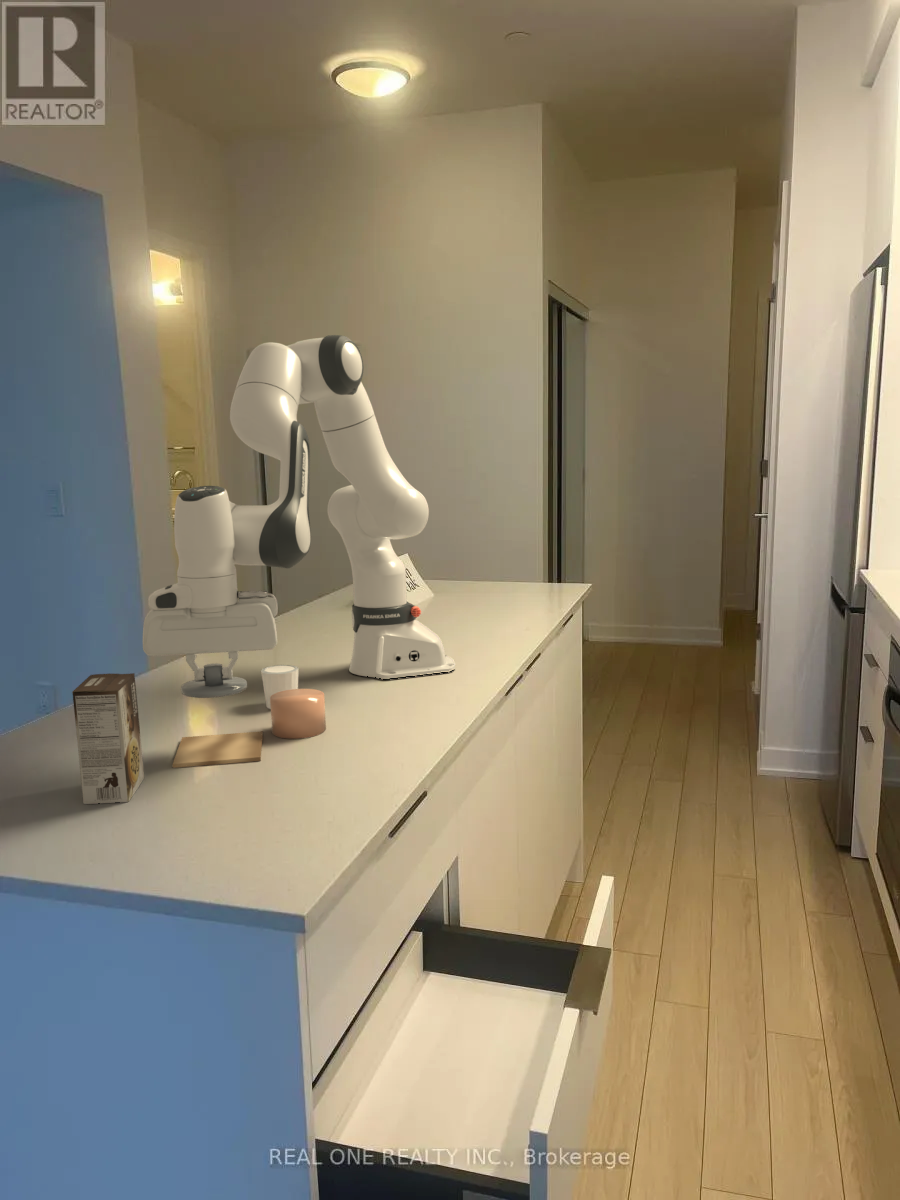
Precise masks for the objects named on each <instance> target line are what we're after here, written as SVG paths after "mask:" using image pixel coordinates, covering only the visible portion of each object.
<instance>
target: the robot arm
mask: <svg viewBox="0 0 900 1200" xmlns="http://www.w3.org/2000/svg"><path fill="white" fill-rule="evenodd" d="M363 376H364V359H363V356H362V354H361V352H360V349H359V348H358V346H357V344H355V342H354V341H352V340H351V339H350V338H349V336H346V335H341V334H339V335H338V334H330V335H325V336H324V337H317V338H314V337H313V338H309V339H304V340H298V341H296V342H294V343H292V344H288V345H285V344H283V343H279V342H272V341H270V342H263V343H260V344H258V345H257V346H256V347H255V348H254V349H252V350H251V352H250V354H249V355H248V357H247V359H246V361H245V364H244V365H243V368H242V369H241V372H240V375H239V378H238V380H237V383H236V386H235V388H234V393H233V396H232V400H231V405H230V408H229V410H230V412H229V421H230V425H231V428H232V430H233V431H234V433H235V435H236V436H237V438H238V439H239V440H241V442H243V444H245V445H246V446H248V447H249V448H250V449H252V450H254V451H256V452H258V453H259V454H263V455H265V456H269V457H271V458H274V459H275V460H278V461H280V469H279V471H280V473H279V488H278V489H279V491H278V499H277V500H275V501H274V502H273V503H269V504H267V505H265V504H264V505H263V504H261V505H260V504H259V505H254V504H252V505H251V504H249V505H247V504H246V505H242V504H237V503H234V502H232V501H231V500H230V498H229V493H228V491H227V489H226V488H224V487H222V486H218V485H201V486H195V487H190V488H188V489H187V488H186V489H184V490H183V491H181V492H180V493H178V494H177V496H176V500H175V505H174V517H173V519H174V520H173V521H174V522H173V523H174V524H173V528H174V529H173V530H174V531H173V532H174V535H173V536H174V548H175V550H176V553H177V557H178V567H177V572H176V576H177V577H176V578H177V582H176V583H173V584H170V585H167V586H164V587H162V588H159V589H156V590H154V591H153V592H152V593H150V594H149V596H148V599H147V604H148V608H149V611H148V612H147V614H146V615H145V618H144V620H143V627H142V628H143V629H142V650H143V652H144V653H145V654H146V656H148V657H163V656H164V657H165V656H179V655H181V656H183V655H185V662H186V663H187V665H188V666H189V668H190V669H191V671H193V673H194V680H195V682H201V681H205V677H204V667H202V668H200V666H199V665H198V663H197V662H196V658H197V654H198V655H199V654H200V655H201V654H215V653H216V654H217V653H220V654H221V653H227V655H228V659H229V660H230V659H231V660H230V662H229V663H228V666H222V674H223V676H222V679H223V680H232V678H233V677H234V676H233V673H234V672H233V668H234V666H235V664H237V663H236V662H237V661H238V659H239V652H251V651H252V652H253V651H268V650H269V651H270V650H273V649H274V648H276V647H277V644H278V633H277V626H276V620H275V617H276V616H277V615H278V611H279V608H278V599H277V597H276V596H275V595H274V594H272V593H270V592H268V591H267V590H261V589H260V590H258V591H254V590H253V591H252V590H242V591H239V590H238V581H237V580H238V579H237V568H236V566H235V565H239V566H267V567H270V568H271V567H273V568H279V569H292V568H293V567H295V566H297V564H299V563H300V562H301V561H302V560H303V559H304V558H305V557H306V556H307V554H308V553H309V551H310V549H311V542H312V539H311V538H312V536H311V533H312V532H311V531H312V530H311V522H310V490H311V489H310V488H311V487H310V484H311V483H310V482H311V446H310V440H309V439H310V438H309V435H308V433H307V429H306V428H305V426H304V425H303V424H302V423H300V422H298V410H299V405H304V404H311V403H312V404H313V403H314V404H313V405H314V410H315V413H316V417H317V422H318V424H319V427H320V430H321V433H322V437H323V440H324V442H325V446H326V449H327V451H328V455H329V458H330V460H331V463H332V465H333V467H334V468H335V470H337V472H338V473H340V474H341V475H342V476H344V477H345V479H347V481H348V482H349V483H350V485H346V486H343V487H340V488H338V489H337V490H335V491H333V493H332V494H331V496H330V498H329V500H328V503H327V517H328V520H329V522H330V523H331V525H332V526H333V527H334V529H336V531H337V532H338V533H339V535H340V537H341V539H342V542H343V544H344V547H345V550H346V552H347V555H348V558H349V562H350V567H351V575H352V576H351V577H352V588H353V604H352V605H351V607H352V609H351V621H352V622H351V624H352V627H351V628H352V630H353V646H352V654H351V661H350V665H349V668H348V670H349V672H350V673H351V674H354V675H357V676H362V677H367V676H368V677H369V678H375V677H376V678H375V679H379V678H381V679H380V680H383V679H389V678H396V677H404V676H413V675H420V674H427V673H434V672H441V671H449V670H452V669H454V668H455V665H456V662H455V660H454V658H452V657H451V656H449V655H447V654H446V651H445V647H444V643H443V641H442V638H440V636H439V635H438V634H437V633H436V632H434V631H433V630H431V628H429V627H428V626H426V625H425V624H423V623H422V622H421V621H419V620H418V619H417V618H418V617H421V616H420V615H422V609H420V607H419V606H416V605H415V604H412V603H411V602H409V601H408V600H407V571H406V567H405V564H404V562H403V561H402V560H401V558H399V556H398V555H397V553H396V552H395V550H394V549H393V545H392V542H391V540H402V539H403V540H404V539H407V538H412V537H416V536H418V535H419V534H421V533H422V532H423V531H424V529H425V528H426V526H427V523H428V521H429V516H430V515H429V514H430V509H429V504H428V502H427V499H426V497H425V496H424V495H423V494H422V493H421V492H420V491H419V490H417V489H416V488H415V487H414V486H412V484H411V483H410V482H408V480H407V479H406V478H405V476H403V473H402V472H401V471H400V470H399V468H398V466H397V464H395V462H394V460H393V459H392V457H391V455H390V453H389V451H388V449H387V446H386V445H385V441H384V438H383V436H382V433H381V430H380V426H379V423H378V421H377V417H376V415H375V411H374V408H373V405H372V403H371V401H370V397H369V395H368V393H367V390H366V388H365V387H364V385H363V382H362V379H363ZM455 669H456V668H455Z"/></svg>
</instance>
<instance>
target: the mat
mask: <svg viewBox="0 0 900 1200" xmlns="http://www.w3.org/2000/svg"><path fill="white" fill-rule="evenodd" d="M263 733H264V732H263V730H262V731H261V730H260V731H250V732H235V733H224V734H223V733H222V734H209V735H196V736H183V737H181V740H180V742H179V745H178V748H177V750H176V753H175V755H174V758H173V761H172V768H187V767H201V766H212V765H223V764H225V765H226V764H227V765H228V764H237V763H250V762H251V763H252V762H261V759H262V751H263V750H262V748H263V736H264V734H263Z"/></svg>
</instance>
